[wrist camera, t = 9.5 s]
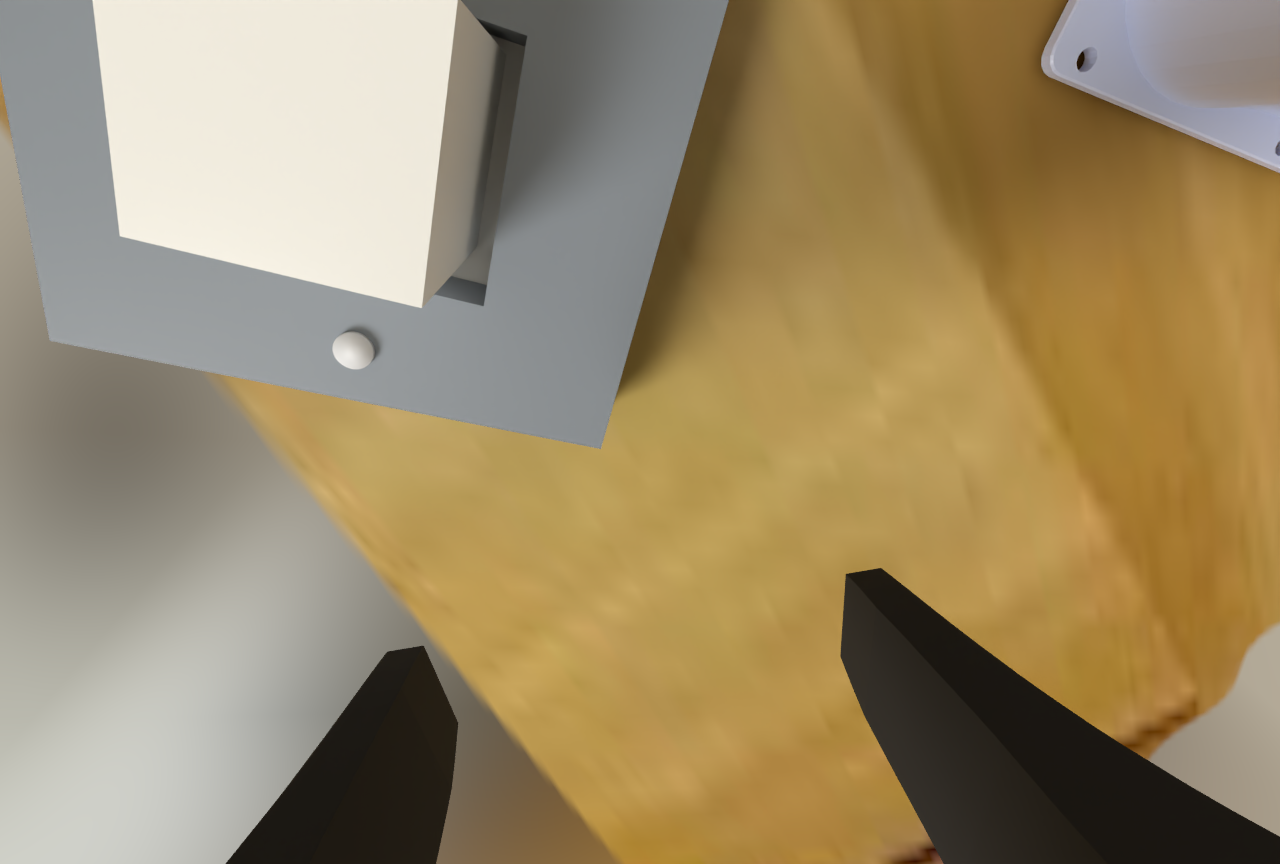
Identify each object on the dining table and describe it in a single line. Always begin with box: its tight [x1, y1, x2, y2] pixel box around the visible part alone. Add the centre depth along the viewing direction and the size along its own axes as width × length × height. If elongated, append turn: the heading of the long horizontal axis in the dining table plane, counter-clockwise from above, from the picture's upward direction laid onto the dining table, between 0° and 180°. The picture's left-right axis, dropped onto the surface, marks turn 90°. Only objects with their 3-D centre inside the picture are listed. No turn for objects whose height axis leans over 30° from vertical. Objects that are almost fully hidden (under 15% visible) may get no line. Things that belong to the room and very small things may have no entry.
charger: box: [92, 0, 506, 308], centre depth 11 cm, size 4×4×6 cm
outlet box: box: [0, 0, 729, 449], centre depth 13 cm, size 13×12×3 cm
